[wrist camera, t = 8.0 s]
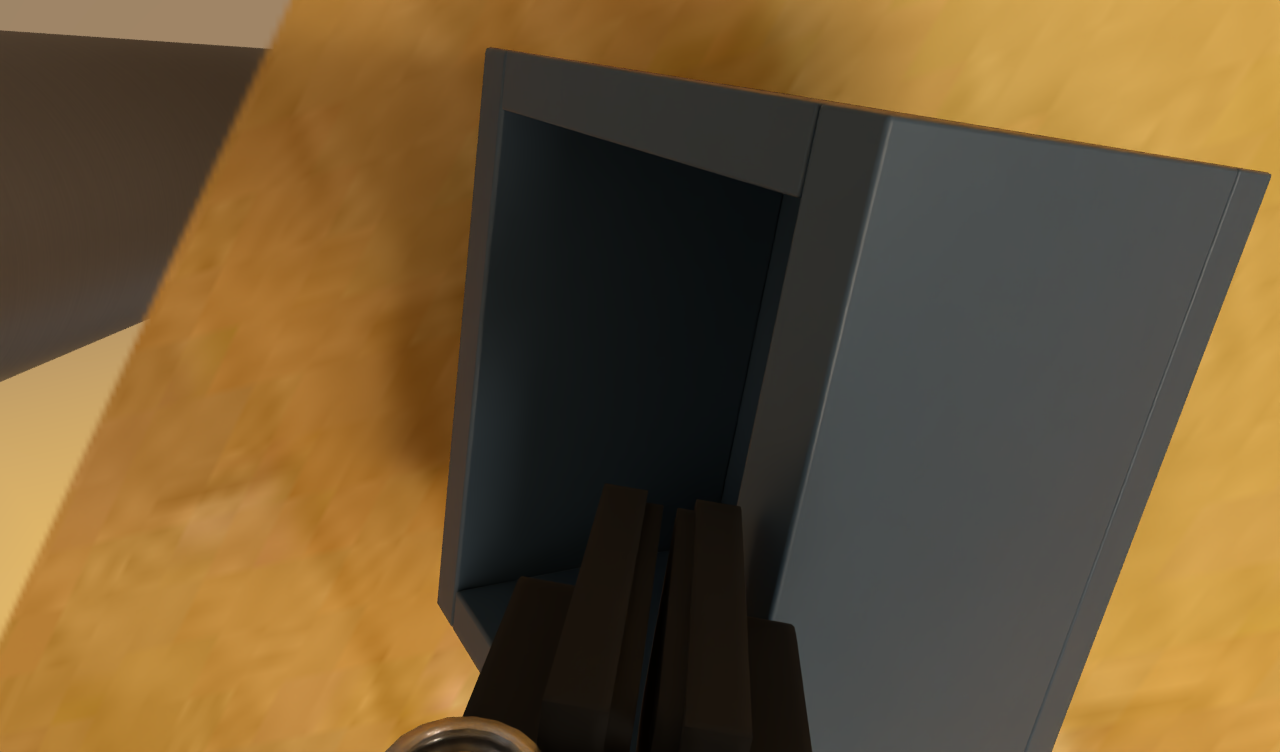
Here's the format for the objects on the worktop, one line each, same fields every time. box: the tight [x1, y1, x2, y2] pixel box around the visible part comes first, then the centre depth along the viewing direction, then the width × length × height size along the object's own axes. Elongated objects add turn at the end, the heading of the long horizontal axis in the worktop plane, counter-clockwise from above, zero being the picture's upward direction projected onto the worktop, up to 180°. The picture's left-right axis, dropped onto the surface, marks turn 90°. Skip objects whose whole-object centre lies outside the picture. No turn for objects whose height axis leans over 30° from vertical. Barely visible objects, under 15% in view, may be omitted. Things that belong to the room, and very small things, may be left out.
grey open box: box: [437, 47, 1271, 752], centre depth 16 cm, size 8×12×10 cm
